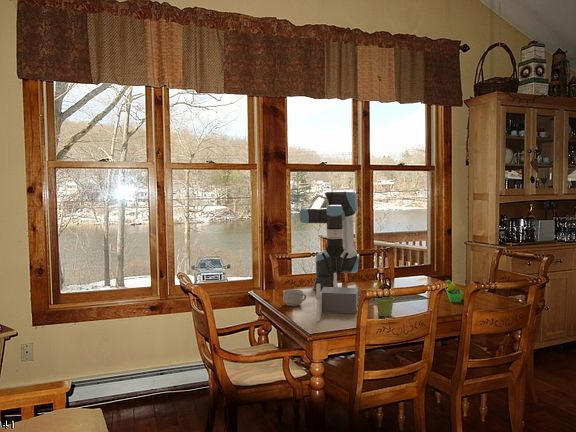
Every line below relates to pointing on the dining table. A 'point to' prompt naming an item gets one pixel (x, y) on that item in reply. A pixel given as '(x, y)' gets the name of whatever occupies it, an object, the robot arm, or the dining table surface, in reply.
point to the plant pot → (385, 306)
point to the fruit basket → (453, 292)
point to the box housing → (339, 300)
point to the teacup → (293, 297)
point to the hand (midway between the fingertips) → (335, 287)
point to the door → (319, 301)
